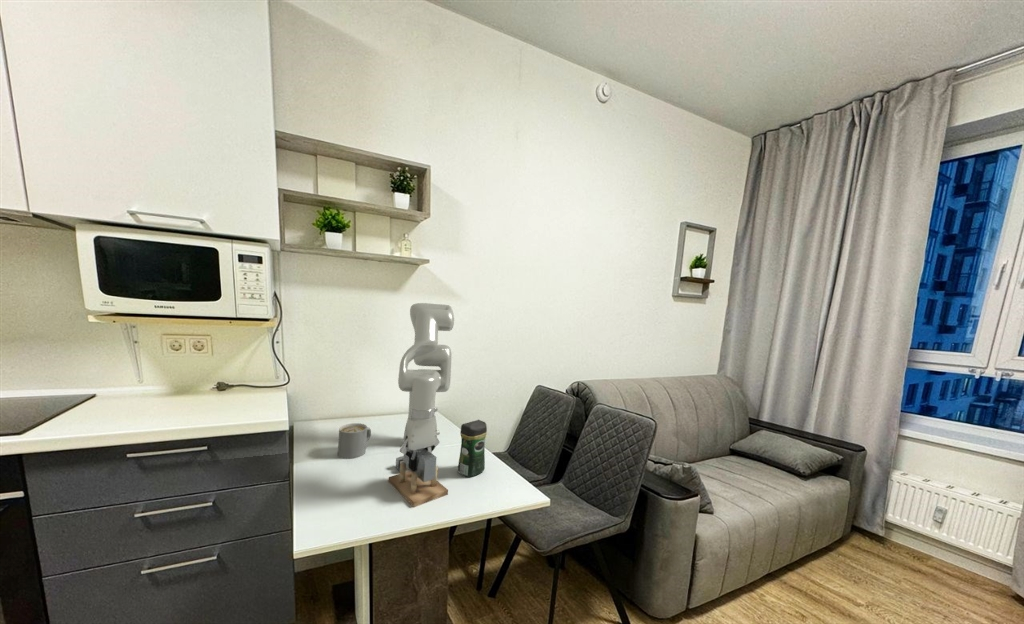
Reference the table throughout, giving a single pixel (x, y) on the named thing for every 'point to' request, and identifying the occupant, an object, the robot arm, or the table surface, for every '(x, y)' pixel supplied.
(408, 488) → the rack
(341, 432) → the coffee mug
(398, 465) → the slot block
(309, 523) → the table surface
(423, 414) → the robot arm
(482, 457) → the coffee jar
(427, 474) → the steel bar
